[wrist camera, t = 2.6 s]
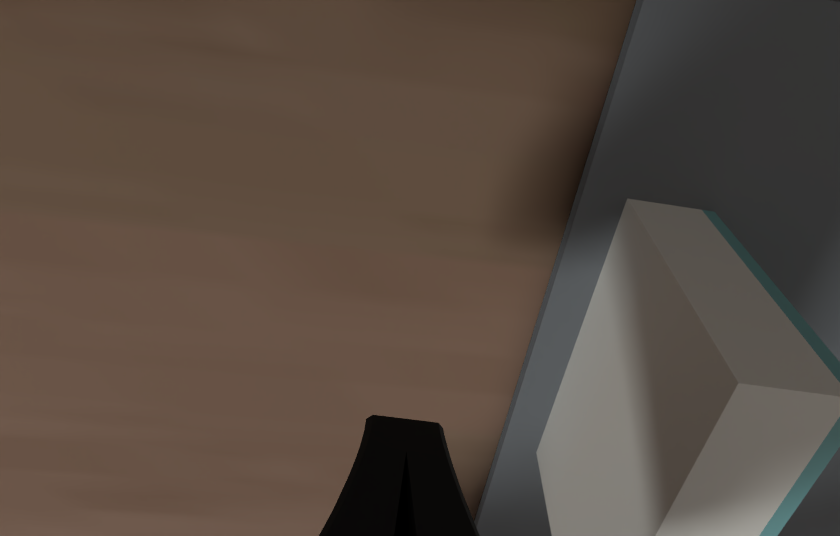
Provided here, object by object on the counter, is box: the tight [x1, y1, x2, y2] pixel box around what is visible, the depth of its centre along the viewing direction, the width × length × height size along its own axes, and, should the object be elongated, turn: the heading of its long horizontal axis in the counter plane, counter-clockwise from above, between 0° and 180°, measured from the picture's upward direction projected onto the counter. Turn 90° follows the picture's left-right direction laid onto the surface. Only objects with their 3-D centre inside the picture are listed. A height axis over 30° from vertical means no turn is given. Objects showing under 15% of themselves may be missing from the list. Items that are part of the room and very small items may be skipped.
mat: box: [474, 0, 840, 536], centre depth 17 cm, size 17×13×1 cm
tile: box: [536, 199, 840, 536], centre depth 14 cm, size 8×2×6 cm, turn 171°
